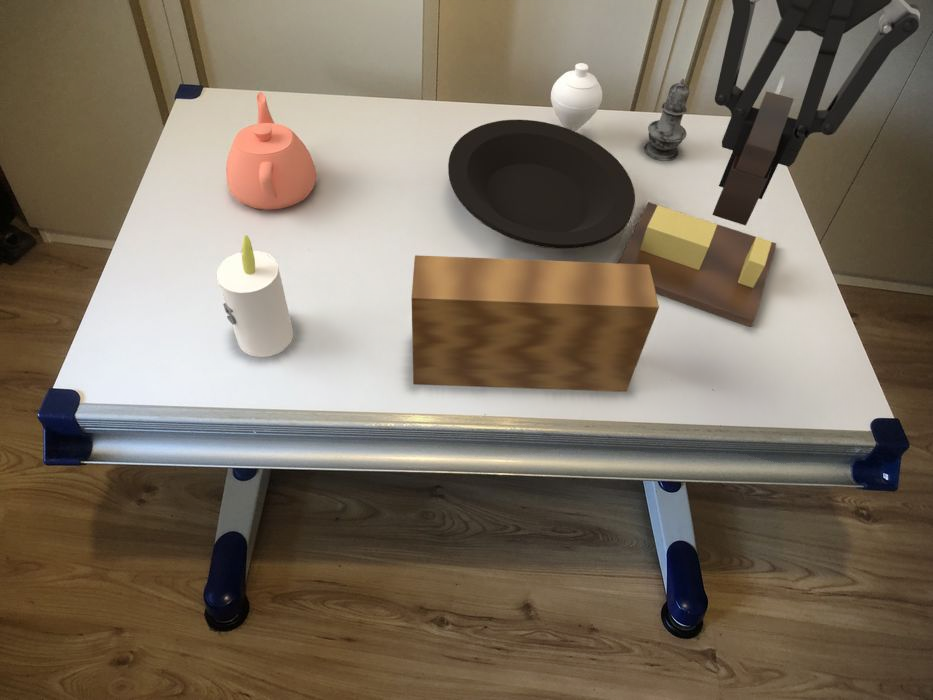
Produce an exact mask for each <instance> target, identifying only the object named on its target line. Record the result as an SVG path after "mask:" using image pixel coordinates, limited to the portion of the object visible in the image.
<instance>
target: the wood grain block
mask: <svg viewBox="0 0 933 700" xmlns="http://www.w3.org/2000/svg"><path fill="white" fill-rule="evenodd" d="M412 274H413V275H412V286H411V298H410V299H411V340H412V341H411V343H412V344H411V345H412V384H413V385H415V386H416V385H419V386H422V385H423V386H446V387H447V386H449V387H475V388H476V387H479V388H503V389H505V388H507V389H535V390H536V389H537V390H538V389H539V390H566V391H568V390H569V391H593V392H594V391H595V392H624V393H625V392H626V393H627V391H628V388H629V386H630V384H631V381H632V379H633V376H634V373H635V370H636V368H637V365H638V363H639V360H640V357H641V355H642V353H643V350H644V347H645V344H646V342H647V340H648V337H649V335H650V332H651V329H652V326H653V324H654V322H655V319H656V317H657V314H658V311H659V308H660V305H659V301H658V296H657V293H656V292H655V287H654V283H653V279H652V275H651V270H650V266H649V265H645V264H620V263H618V262H616V263H615V262H592V261H591V262H590V261H588V262H587V261H568V260H567V261H566V260H543V259H541V260H540V259H521V258H519V259H518V258H517V259H515V258H491V257H469V256H468V257H466V256H465V257H464V256H441V255H419V254H417V255H414V261H413V273H412Z"/></svg>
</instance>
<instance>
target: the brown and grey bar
mask: <svg viewBox="0 0 933 700" xmlns="http://www.w3.org/2000/svg"><path fill="white" fill-rule="evenodd" d="M786 77H787V75H784V74H782V75H781V77H780V79H779V81H778V84H777V85H776V88H775V90H774V92H772V91H765V93H764V96H763V98H762V100H761V103H760V105H759V108H758V109H759V112H758V114H757V117H756V119H755V122H754V125H753V127H752V129H751V131H750V134H749V136H748V138H747V141H746V143H745V146H744V148H743V150H742V153H741V156H740V157H738V156H736V158H735V161H734V163H733V165H732V168H731V170H730V173H729V175H728V177H727V180H726V182H725V185H724V187H722V190H721V192H720V194H719V196H718V199H717V202H716V204H715V207H714V209H713V211H712V216H714V217H717V218H720V219H724V220H726V221H730V222H731V223H732V222H733V223H736V224H739V225H742V226H747V224H748V222H749V220H750V218H751V215H752V213H753V211H754V209H755V208H756V205H757V204H758V202H759V200H760V199H759V197H760V195H761V193H762V190H763V188H764V186H765V184H766V182H767V180H768V177H769V174H770V171H771V168H772V167H771V166H770V164H771V162H772V160H773V158H774V156H775V154H776V151H777V148H778V145H779V142H780V139H781V136H782V132H783V129H784V127H785V124H786V121H787V118H788V117H789V115H790V112H791V109H792V106H793V104H794V98H793V97H789V96H787V95H782V94H781V90H782V88H783V85H784V82H785V80H786Z"/></svg>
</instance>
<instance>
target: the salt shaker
mask: <svg viewBox="0 0 933 700" xmlns="http://www.w3.org/2000/svg"><path fill="white" fill-rule="evenodd" d="M685 83H686V81H685V79H684V78H682V79H681V80H680V81H679V82H676V83H674V84H672V85H671V86H670V88H669V90H668V92H667V93H668V94H667V97H666V100H665V102H663V103H662V105H661V108H662V112H661V116H660V118H659V119H658V120H657V119H656V120H654V121H651V122H650V123H649V124H648V126H647V131H648V139H649V141H647V142H646V143H645V145H644V147H643V150H644V153H645V154H646V155H647V156H649V158H651V159H654V160H657V161H662V162H669V161H673V160H675V159H676V158H677V157H678V155H679V150H678V147H679V146H680V145H681V144H682V142H683V141H684V140H685V139H686V137H687V130H686V129H685V127H683V125H681V123H682V119H683V116H684V115H685V114H686V113H687V111H688V109H687V107H686V105H687V102H688V99H689V96H690V92H691V90H690V87H689V86H688V85H687V84H685Z"/></svg>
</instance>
